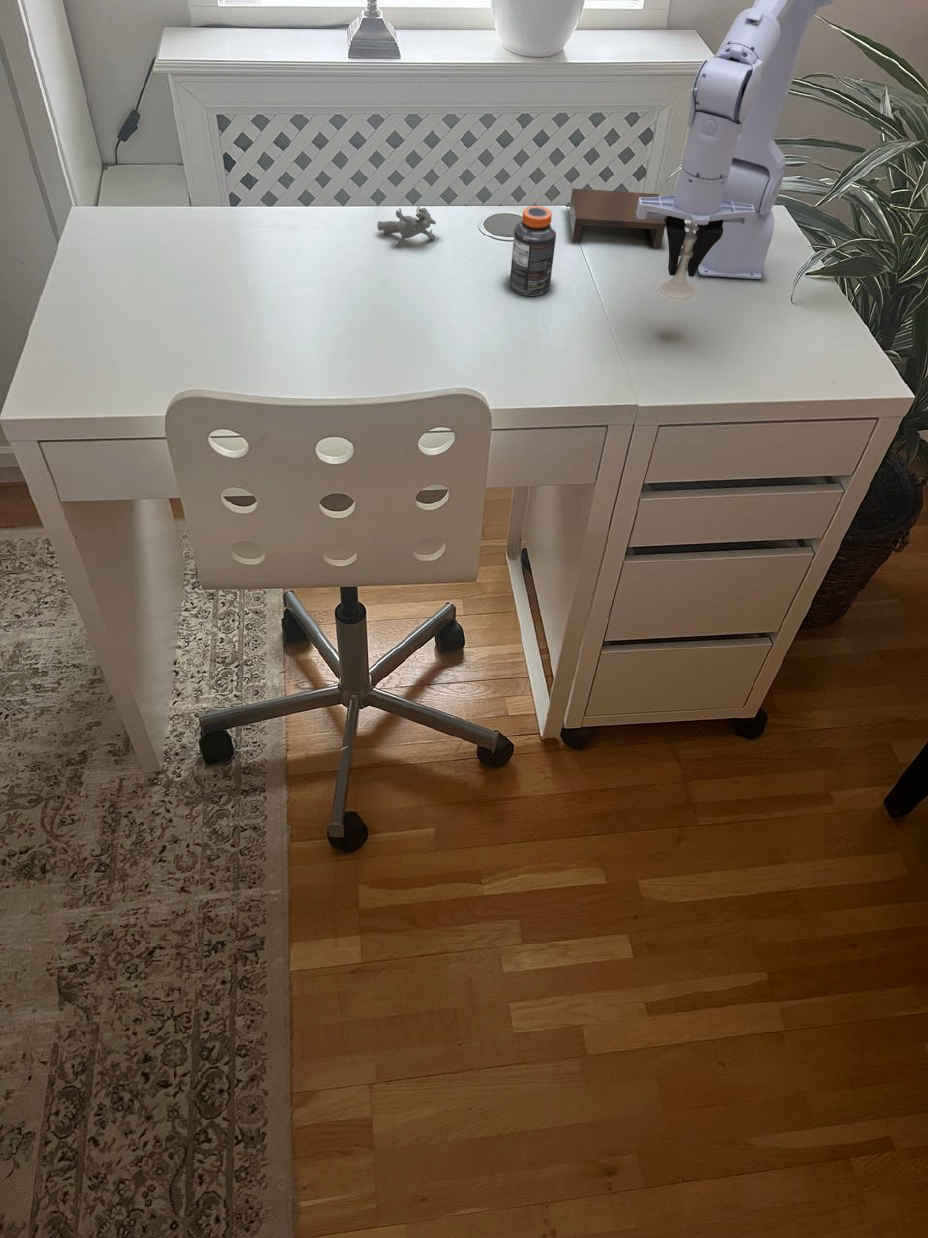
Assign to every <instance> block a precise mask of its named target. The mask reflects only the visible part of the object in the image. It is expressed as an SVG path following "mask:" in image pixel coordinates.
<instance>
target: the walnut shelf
mask: <svg viewBox="0 0 928 1238" xmlns="http://www.w3.org/2000/svg"><path fill="white" fill-rule="evenodd" d="M659 196H660V194H659V193H648V192H634V191H633V192H632V191H631V192H630V191H617V190H605V189H604V190H603V189H601V190H600V189H588V188H572V189H571V196H570V204H569V209H568V213H569V215H568V216H569V225H570V234H571V242H572V243H575V244H580V243H581V236H582V231H583V225H585V226H600V227H614V228H630V229H647V230H649V235H650V238H651V242H652V248H654V249H661V248H662V244H663V239H664V235H665V230H666V225H665V220H664V218H651V217H646V219H637V214H636V210H637V205H638V199H639V197H645V198H646V197H659Z"/></svg>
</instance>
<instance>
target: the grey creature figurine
mask: <svg viewBox="0 0 928 1238" xmlns="http://www.w3.org/2000/svg"><path fill="white" fill-rule="evenodd" d="M420 207H421V203H419V204H418V205H417V207H416V208H415V212H416V214H415V217H413V216H411V215H403V213H402V208H401V207H399V208H398V209H396V210H395V217H397V218H398V219H399V220H398V221H396V220H388V221H381V220H378V221H377V230H378V231H382V232H383V235H385V236H386V235H391V234H400V240H399V242H398V243H397V244H396V248H397V247H399V246H400V244H401V243H402V242H404V240H406V239H411V238H413V237H416V236H417V235H420V234H424V235H425V236H426V237H428V239H429V240H432V241H435V240H436V235H435V234H434V233H433V229H432V228H431V229H430V230H429V231H428V230H427V229H429V228H430V227H431V225H436V224H437V222H436V221H435V220H434V219H433V218H432V217H431V213H430V212H429V211H428V209H427V208H426V207H421V208H420Z"/></svg>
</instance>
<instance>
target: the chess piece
mask: <svg viewBox="0 0 928 1238" xmlns="http://www.w3.org/2000/svg"><path fill="white" fill-rule="evenodd" d="M685 223H686V225H685V229H688V231H686V237H685V239H684V242H683V245H682V248H681V251H680V255H679V260H678V266H677V271H676V274H675V276H671V277H670V278H669V277H668V278H665V279H663V280H662V281H660V282H659V285H658V287H657V292H658V294H659V295H660V296H661V297H662V298H664V299H665V300H668V301H671V302H676V303H684V302H689V301H691V300H692V299H693V298H694V297H695V291H696V289H695V287H694V285H693V284H692V283H690V282H689V281H687V278H686V277H687V265H688V260H689V258H691V257H693V255H694V254H693V251H692V247H693V244H694V243H695V242H696V240H697V235H696V234H695V233H696V231H698V229H699V227H698V226H697V225H696V224H693V223H692V222H691V221H690V222H685Z"/></svg>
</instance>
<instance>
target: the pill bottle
mask: <svg viewBox="0 0 928 1238" xmlns="http://www.w3.org/2000/svg"><path fill="white" fill-rule="evenodd" d="M556 239H557V231H556V228H555V226H554V225H553V224H552V211H551V210H550V209H549V208H547V207H545V206H541V205H530V206H527V207H525V208H524V209H523V211H522V218H521V221H519V222H518V223H517V224H516V226H515V227H514V232H513V243H512V253H511V263H510V264H511V265H510V276H509V285H510V288H511V289H512V290H513V291H515V292H516V293H518V294H521V295H524V296H540V295H543V294H545V293H547V292H548V291H549V289H550V288H551V279H552V274H553V273H552V271H553V265H554V256H555V247H556Z"/></svg>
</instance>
